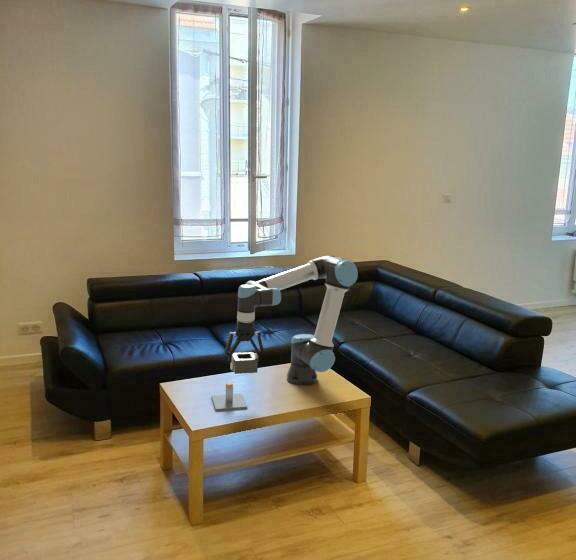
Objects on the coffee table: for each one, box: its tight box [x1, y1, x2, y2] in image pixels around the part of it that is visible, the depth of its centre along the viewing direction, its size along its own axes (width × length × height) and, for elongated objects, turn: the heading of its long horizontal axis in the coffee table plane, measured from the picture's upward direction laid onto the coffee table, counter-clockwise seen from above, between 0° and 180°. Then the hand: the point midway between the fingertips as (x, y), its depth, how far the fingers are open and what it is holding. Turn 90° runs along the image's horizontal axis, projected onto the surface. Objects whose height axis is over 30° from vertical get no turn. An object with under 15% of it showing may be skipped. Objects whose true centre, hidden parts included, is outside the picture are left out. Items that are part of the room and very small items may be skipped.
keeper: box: [211, 382, 248, 412], centre depth 259 cm, size 14×14×9 cm
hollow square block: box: [232, 351, 259, 375], centre depth 255 cm, size 10×10×6 cm
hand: (243, 368), depth 256 cm, fingers closed on hollow square block, 10 cm apart
